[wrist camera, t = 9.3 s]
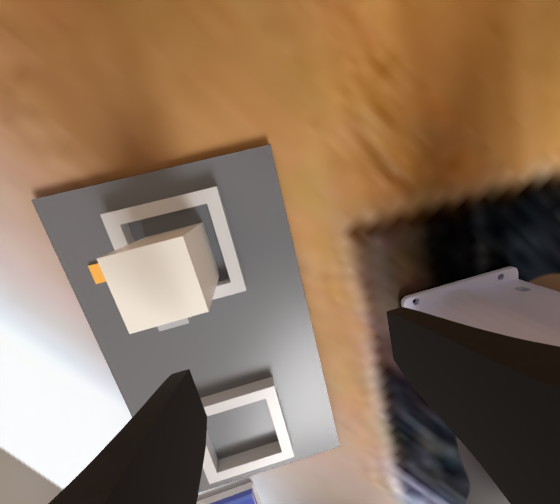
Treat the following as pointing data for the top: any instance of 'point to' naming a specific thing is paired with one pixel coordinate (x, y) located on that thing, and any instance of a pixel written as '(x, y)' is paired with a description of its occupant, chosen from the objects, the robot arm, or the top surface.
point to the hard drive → (234, 496)
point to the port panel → (223, 311)
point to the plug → (162, 278)
